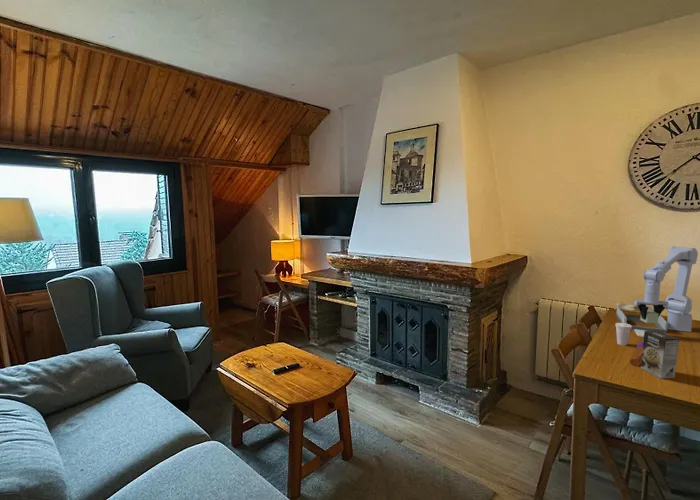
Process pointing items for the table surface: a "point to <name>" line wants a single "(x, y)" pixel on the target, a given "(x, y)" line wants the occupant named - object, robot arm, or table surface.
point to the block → (651, 317)
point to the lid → (632, 307)
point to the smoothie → (623, 332)
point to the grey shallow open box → (628, 317)
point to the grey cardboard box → (659, 354)
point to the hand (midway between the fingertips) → (649, 318)
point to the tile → (639, 332)
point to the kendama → (637, 359)
